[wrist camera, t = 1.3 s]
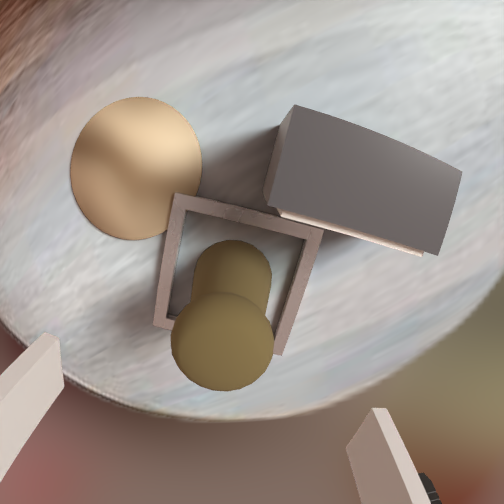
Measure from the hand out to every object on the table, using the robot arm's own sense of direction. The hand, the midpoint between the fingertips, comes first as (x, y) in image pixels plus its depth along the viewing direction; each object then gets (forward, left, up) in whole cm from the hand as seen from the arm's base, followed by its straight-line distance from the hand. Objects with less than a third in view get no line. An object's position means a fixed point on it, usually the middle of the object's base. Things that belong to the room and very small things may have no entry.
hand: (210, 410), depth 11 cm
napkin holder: (-10, +6, -14) cm, 18 cm away
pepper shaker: (0, 0, -14) cm, 14 cm away
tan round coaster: (-7, -9, -14) cm, 18 cm away
